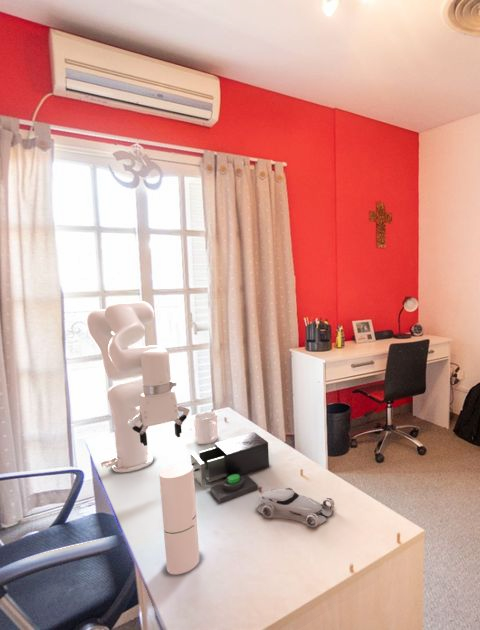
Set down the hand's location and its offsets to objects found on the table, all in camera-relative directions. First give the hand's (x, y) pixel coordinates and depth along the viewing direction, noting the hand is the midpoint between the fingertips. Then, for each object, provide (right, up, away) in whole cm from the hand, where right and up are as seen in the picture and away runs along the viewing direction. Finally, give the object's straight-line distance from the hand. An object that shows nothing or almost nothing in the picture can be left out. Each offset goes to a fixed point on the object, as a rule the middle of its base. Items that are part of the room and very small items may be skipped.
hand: (161, 440), depth 134 cm
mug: (-5, -13, +41) cm, 43 cm away
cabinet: (+18, -16, +19) cm, 31 cm away
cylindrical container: (+24, -23, -30) cm, 44 cm away
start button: (+22, -15, +3) cm, 27 cm away
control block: (+22, -18, +4) cm, 28 cm away
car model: (+45, -20, -7) cm, 50 cm away
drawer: (+10, -16, +12) cm, 22 cm away
